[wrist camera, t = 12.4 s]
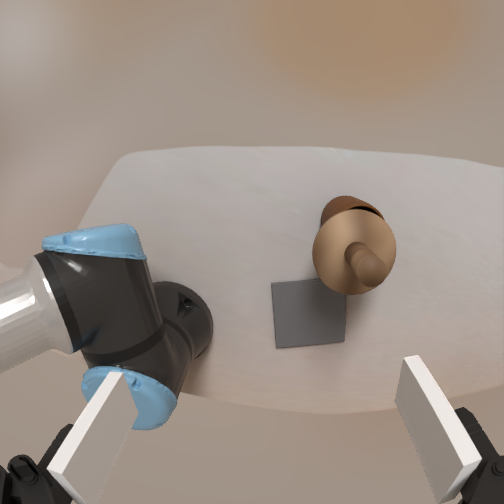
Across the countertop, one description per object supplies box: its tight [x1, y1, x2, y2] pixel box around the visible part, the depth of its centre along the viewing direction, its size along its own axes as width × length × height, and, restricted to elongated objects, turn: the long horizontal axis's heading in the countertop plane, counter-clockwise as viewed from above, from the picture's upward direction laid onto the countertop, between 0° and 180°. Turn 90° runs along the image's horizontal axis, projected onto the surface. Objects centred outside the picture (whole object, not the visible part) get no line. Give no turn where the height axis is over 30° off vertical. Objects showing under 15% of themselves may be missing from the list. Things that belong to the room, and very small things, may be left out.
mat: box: [272, 279, 346, 348], centre depth 52 cm, size 12×12×1 cm
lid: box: [312, 209, 396, 295], centre depth 35 cm, size 11×11×8 cm
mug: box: [321, 196, 385, 226], centre depth 44 cm, size 12×8×9 cm, turn 169°
